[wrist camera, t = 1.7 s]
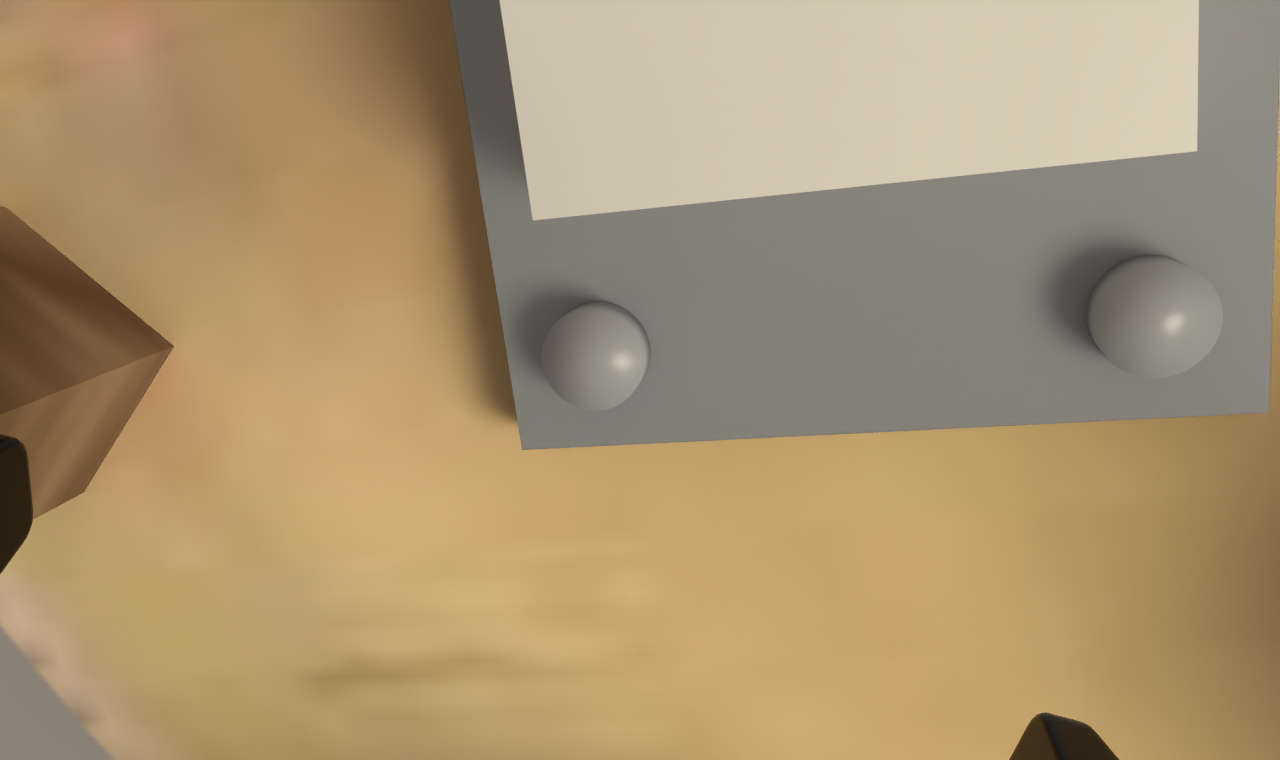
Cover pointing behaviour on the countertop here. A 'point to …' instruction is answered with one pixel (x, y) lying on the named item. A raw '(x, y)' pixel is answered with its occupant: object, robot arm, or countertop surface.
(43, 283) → the walnut brick
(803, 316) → the base brick
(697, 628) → the countertop surface
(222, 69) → the countertop surface
